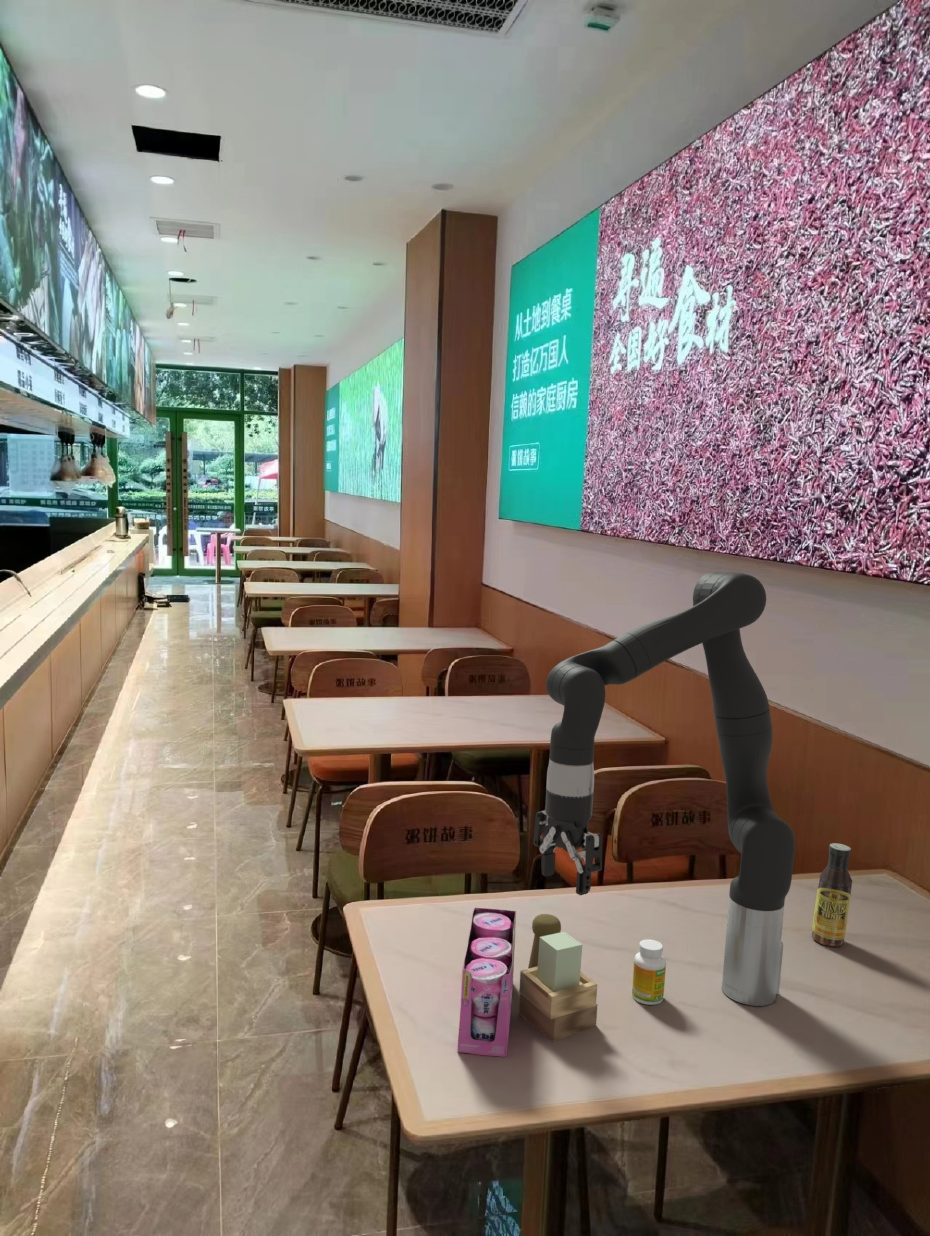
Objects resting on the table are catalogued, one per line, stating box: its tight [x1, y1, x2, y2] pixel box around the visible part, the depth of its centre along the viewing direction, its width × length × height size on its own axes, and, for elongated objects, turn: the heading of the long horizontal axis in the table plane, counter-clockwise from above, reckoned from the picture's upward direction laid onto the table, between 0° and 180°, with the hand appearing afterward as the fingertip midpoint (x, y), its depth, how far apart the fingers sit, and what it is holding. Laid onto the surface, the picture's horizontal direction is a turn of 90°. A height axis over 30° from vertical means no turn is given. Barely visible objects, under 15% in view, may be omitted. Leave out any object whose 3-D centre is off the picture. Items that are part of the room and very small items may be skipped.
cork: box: [527, 913, 562, 969], centre depth 164 cm, size 6×6×11 cm
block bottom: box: [518, 993, 598, 1042], centre depth 150 cm, size 9×9×4 cm
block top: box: [518, 966, 598, 1019], centre depth 149 cm, size 9×9×4 cm
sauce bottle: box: [811, 842, 853, 948], centre depth 182 cm, size 7×6×20 cm
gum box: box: [457, 907, 517, 1058], centre depth 149 cm, size 24×8×14 cm, turn 175°
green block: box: [537, 931, 583, 992], centre depth 149 cm, size 5×5×7 cm
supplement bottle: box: [631, 939, 667, 1006], centre depth 158 cm, size 5×5×10 cm
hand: (564, 884), depth 148 cm, fingers open, 8 cm apart
